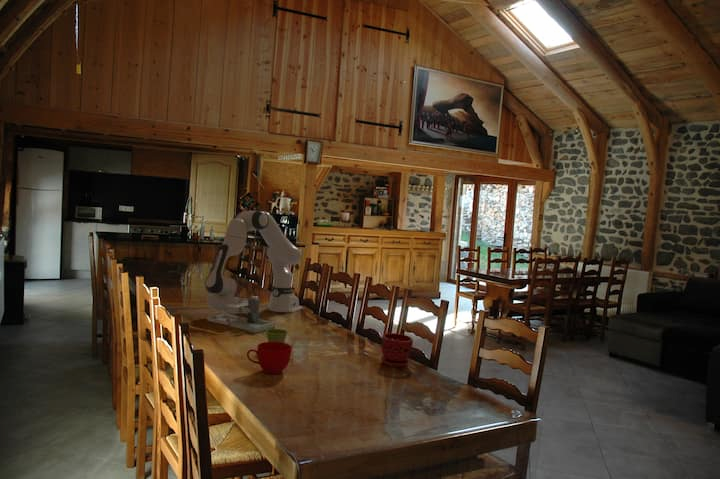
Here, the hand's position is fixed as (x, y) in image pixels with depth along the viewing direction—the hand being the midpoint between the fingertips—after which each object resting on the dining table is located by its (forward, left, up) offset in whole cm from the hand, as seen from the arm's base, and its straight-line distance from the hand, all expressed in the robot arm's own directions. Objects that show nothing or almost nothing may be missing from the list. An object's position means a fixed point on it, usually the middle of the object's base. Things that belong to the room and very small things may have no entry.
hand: (254, 309), depth 274 cm
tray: (0, -18, -10) cm, 20 cm away
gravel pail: (0, -1, -7) cm, 7 cm away
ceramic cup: (+50, +47, -10) cm, 69 cm away
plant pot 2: (+6, +81, -10) cm, 82 cm away
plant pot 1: (+25, +32, -10) cm, 42 cm away
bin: (0, -1, -10) cm, 10 cm away
